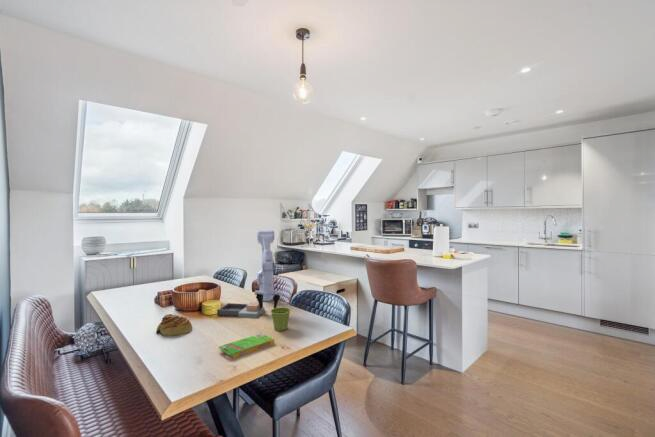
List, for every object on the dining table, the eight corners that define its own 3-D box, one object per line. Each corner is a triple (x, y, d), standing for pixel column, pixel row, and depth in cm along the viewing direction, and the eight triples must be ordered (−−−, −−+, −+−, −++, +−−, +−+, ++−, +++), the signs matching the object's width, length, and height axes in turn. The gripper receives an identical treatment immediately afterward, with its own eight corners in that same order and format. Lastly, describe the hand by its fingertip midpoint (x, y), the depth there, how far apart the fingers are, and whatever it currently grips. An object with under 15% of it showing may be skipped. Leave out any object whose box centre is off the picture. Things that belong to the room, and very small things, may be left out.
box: (228, 308, 179) (228, 303, 179) (247, 309, 177) (247, 304, 177) (217, 315, 167) (217, 309, 167) (238, 316, 165) (238, 310, 165)
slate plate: (247, 309, 177) (247, 305, 177) (264, 310, 176) (264, 306, 176) (238, 316, 165) (238, 312, 165) (256, 317, 164) (256, 313, 164)
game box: (274, 346, 132) (228, 360, 118) (261, 340, 139) (216, 352, 125) (274, 339, 132) (229, 352, 118) (261, 332, 139) (217, 344, 125)
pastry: (158, 328, 150) (158, 311, 150) (192, 324, 155) (192, 307, 155) (154, 338, 137) (153, 320, 137) (191, 334, 143) (191, 316, 143)
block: (250, 306, 175) (250, 302, 175) (260, 307, 174) (260, 303, 174) (246, 310, 169) (246, 305, 169) (256, 310, 168) (256, 306, 168)
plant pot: (289, 332, 144) (289, 313, 144) (268, 332, 144) (268, 313, 144) (292, 325, 153) (291, 307, 153) (272, 325, 154) (272, 307, 153)
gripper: (252, 284, 167) (252, 310, 168) (278, 285, 165) (279, 311, 165) (257, 281, 174) (257, 306, 175) (282, 282, 172) (282, 307, 172)
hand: (268, 308), depth 171 cm, fingers open, 7 cm apart
